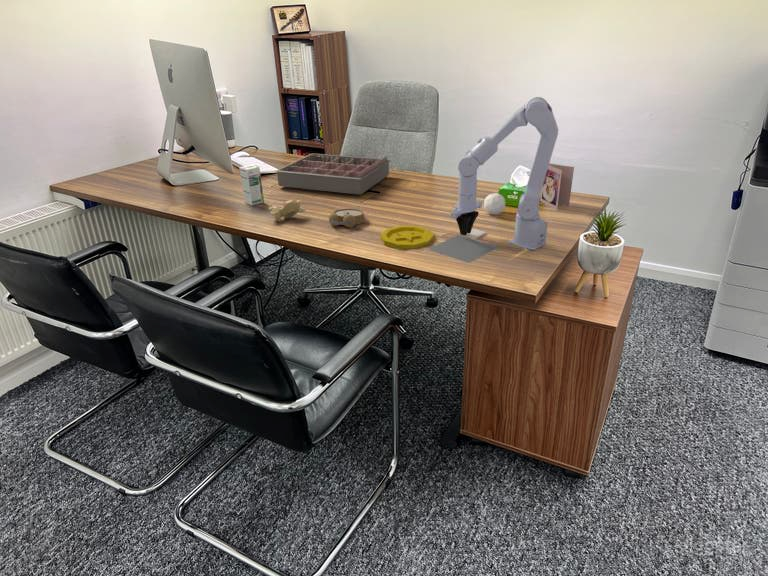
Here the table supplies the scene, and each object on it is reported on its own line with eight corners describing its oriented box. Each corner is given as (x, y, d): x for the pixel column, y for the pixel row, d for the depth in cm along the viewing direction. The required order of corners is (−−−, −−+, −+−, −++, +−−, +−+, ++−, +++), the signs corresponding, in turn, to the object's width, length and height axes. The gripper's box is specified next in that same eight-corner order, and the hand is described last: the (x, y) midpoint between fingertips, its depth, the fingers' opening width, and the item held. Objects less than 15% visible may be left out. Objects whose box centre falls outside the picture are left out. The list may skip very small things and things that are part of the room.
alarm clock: (368, 210, 204) (352, 216, 190) (368, 223, 205) (352, 230, 191) (340, 207, 207) (322, 213, 194) (340, 220, 209) (322, 227, 195)
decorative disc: (412, 255, 174) (412, 249, 173) (370, 241, 184) (370, 236, 184) (443, 238, 185) (443, 233, 185) (402, 227, 196) (402, 221, 195)
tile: (475, 241, 183) (485, 236, 187) (475, 237, 182) (486, 231, 186) (458, 236, 187) (468, 231, 191) (458, 232, 187) (468, 227, 190)
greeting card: (537, 201, 216) (542, 163, 209) (554, 199, 218) (559, 161, 211) (554, 210, 206) (559, 170, 200) (572, 208, 208) (577, 168, 202)
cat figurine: (266, 202, 203) (297, 190, 204) (273, 217, 208) (303, 205, 210) (271, 215, 198) (303, 202, 199) (278, 230, 203) (308, 217, 204)
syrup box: (251, 205, 219) (246, 169, 213) (244, 202, 223) (239, 166, 217) (264, 202, 223) (259, 166, 216) (256, 199, 226) (252, 163, 220)
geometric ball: (497, 219, 207) (512, 202, 204) (491, 218, 200) (506, 201, 197) (483, 206, 209) (497, 189, 206) (476, 205, 202) (491, 187, 199)
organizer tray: (312, 170, 265) (311, 149, 260) (391, 177, 251) (391, 155, 247) (276, 189, 239) (273, 166, 234) (361, 198, 225) (360, 174, 220)
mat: (498, 248, 176) (499, 247, 176) (469, 264, 166) (469, 263, 166) (457, 236, 186) (457, 234, 186) (427, 250, 176) (427, 249, 176)
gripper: (470, 186, 185) (468, 224, 191) (443, 196, 175) (442, 237, 182) (488, 190, 180) (485, 229, 186) (461, 201, 171) (459, 242, 177)
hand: (465, 233), depth 184 cm, fingers closed
